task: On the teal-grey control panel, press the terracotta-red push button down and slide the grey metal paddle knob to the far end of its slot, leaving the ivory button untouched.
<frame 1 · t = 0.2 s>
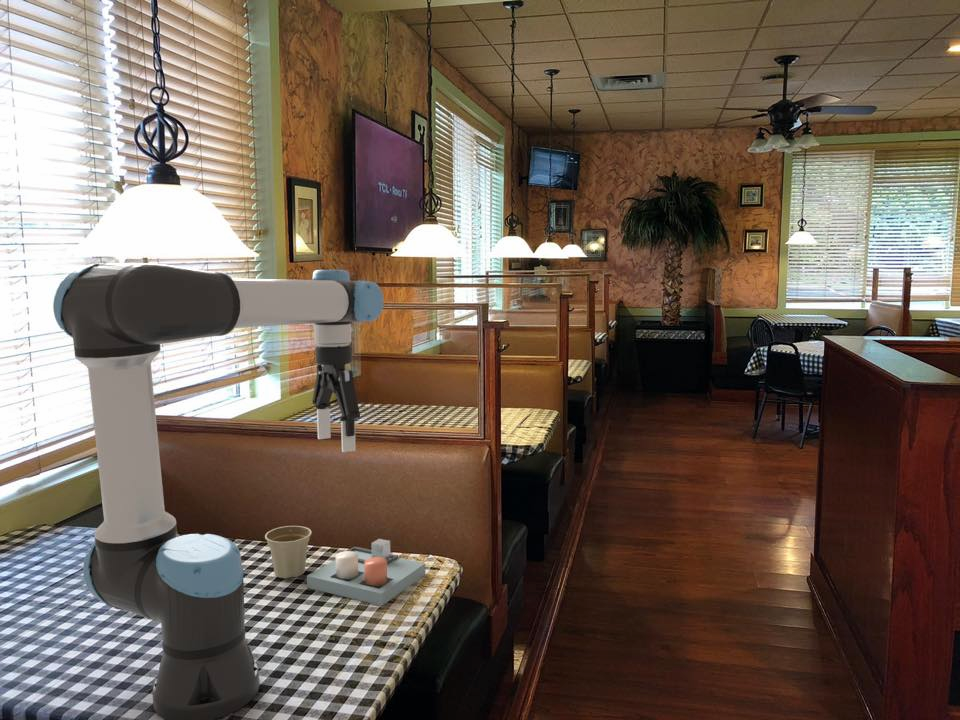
hand: (336, 444, 157), 27 cm above the table, fingers open, 13 cm apart
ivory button: (347, 564, 149), point 5 cm above the table, slide at 0.0 cm
red button: (375, 571, 146), point 5 cm above the table, slide at 0.0 cm
panel: (367, 581, 152), on the table
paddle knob: (380, 551, 156), point 5 cm above the table, slide at 0.0 cm
flower pot: (289, 573, 157), on the table
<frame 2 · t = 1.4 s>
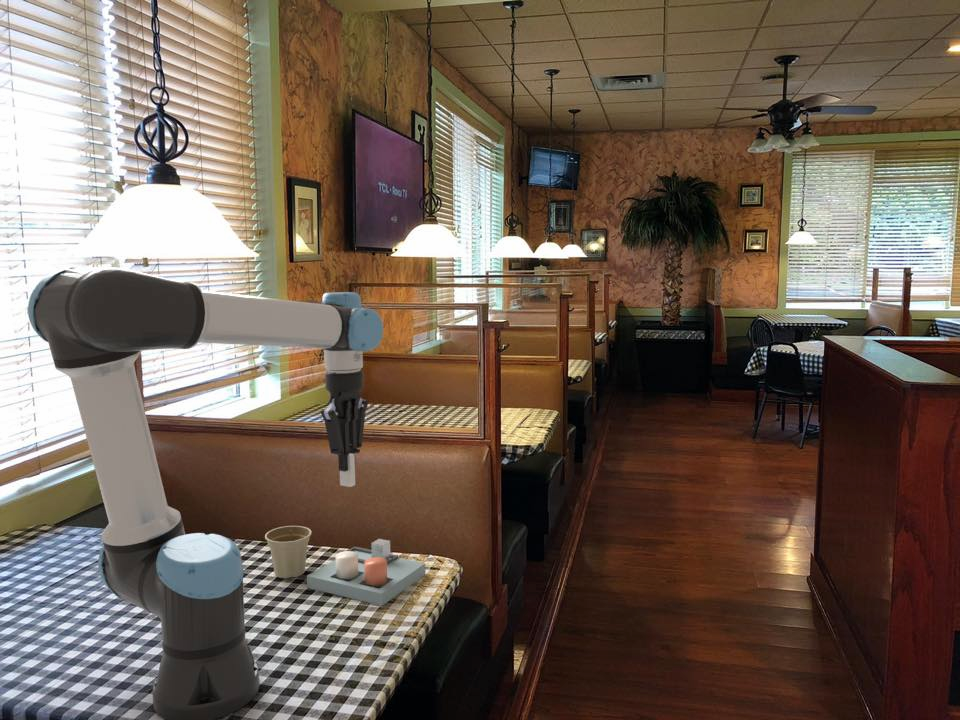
hand: (347, 485, 151), 20 cm above the table, fingers closed
nothing on the table moved.
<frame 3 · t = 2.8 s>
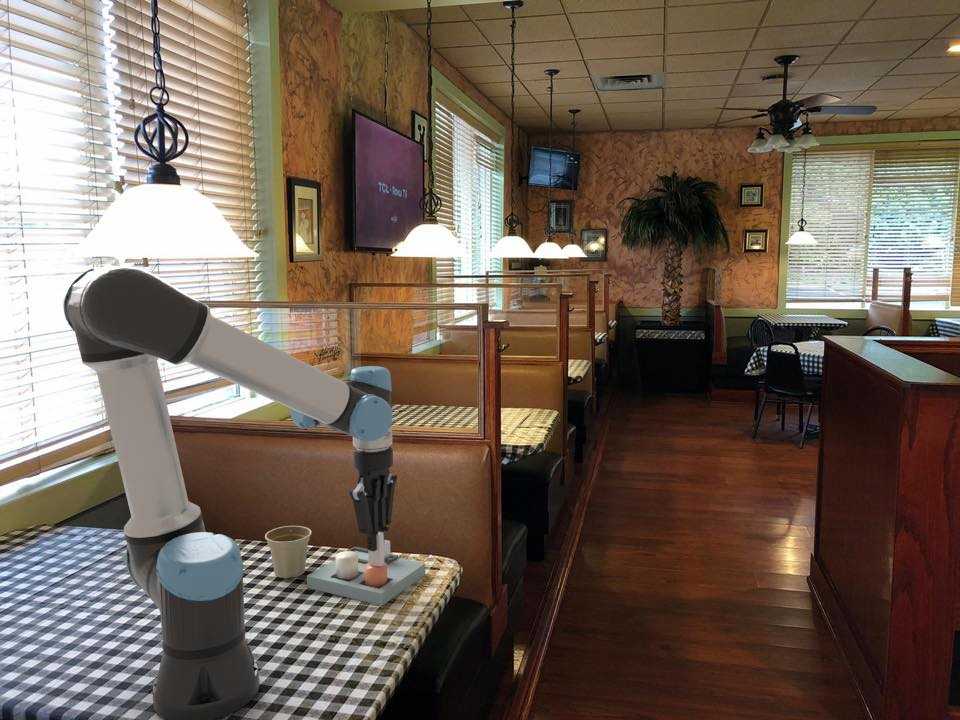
hand: (376, 564, 146), 6 cm above the table, fingers closed
red button: (376, 575, 146), point 4 cm above the table, slide at 0.9 cm, touching gripper
everything else where it was.
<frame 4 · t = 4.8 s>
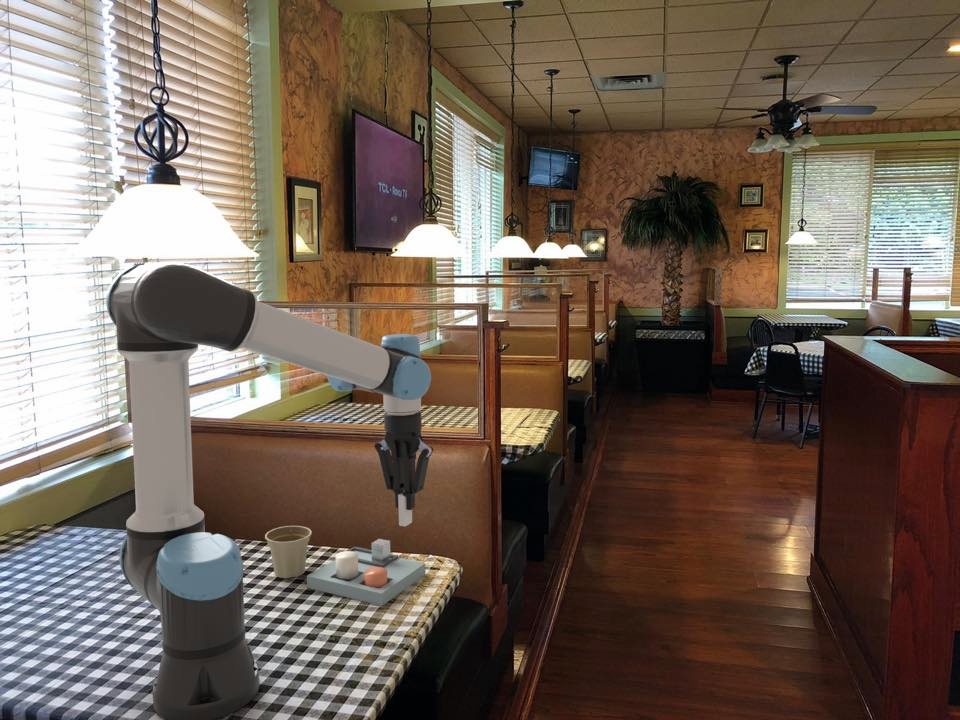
hand: (405, 523, 153), 11 cm above the table, fingers closed
red button: (376, 581, 146), point 3 cm above the table, slide at 2.1 cm
everything else where it was.
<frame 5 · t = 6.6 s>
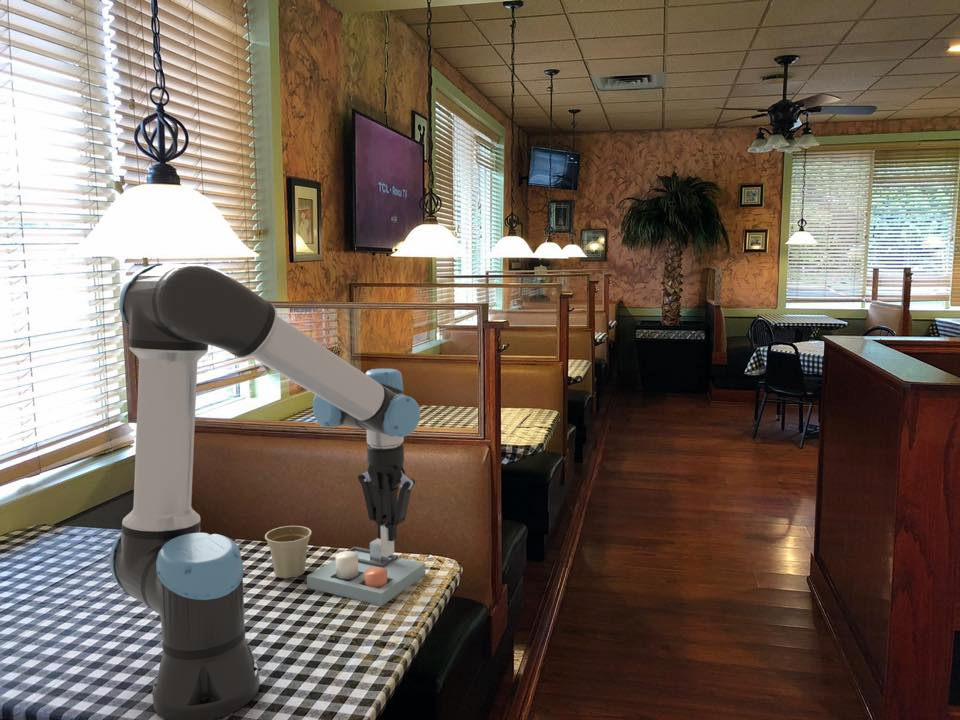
hand: (387, 554, 156), 4 cm above the table, fingers closed
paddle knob: (379, 550, 156), point 5 cm above the table, slide at 0.4 cm, touching gripper
everything else where it was.
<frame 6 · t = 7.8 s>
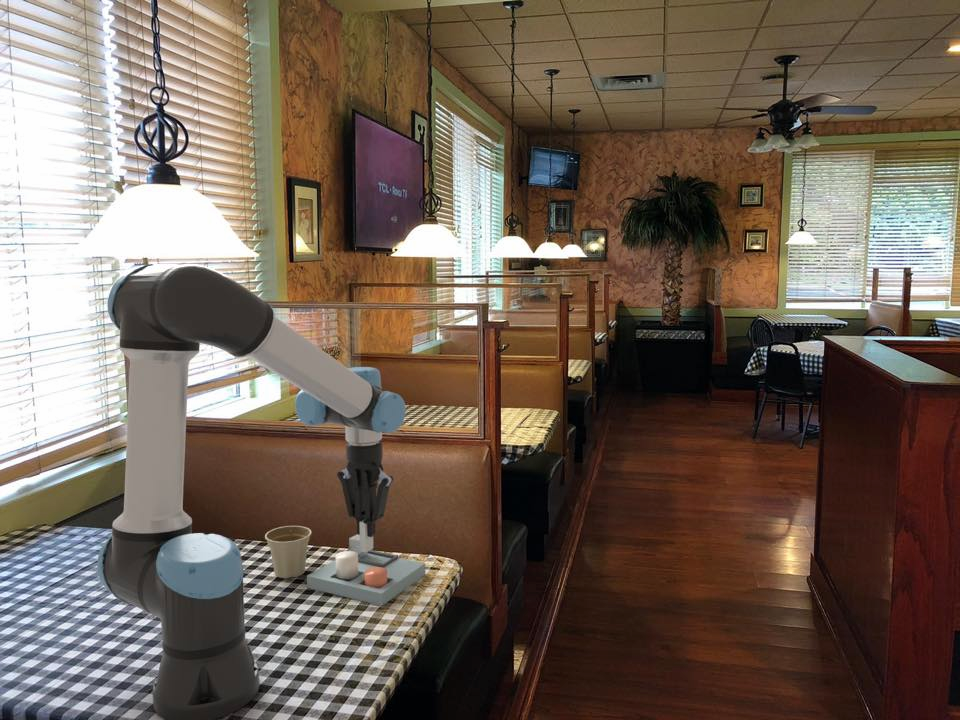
hand: (366, 549, 158), 4 cm above the table, fingers closed
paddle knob: (358, 546, 159), point 5 cm above the table, slide at 5.8 cm, touching gripper
everything else where it was.
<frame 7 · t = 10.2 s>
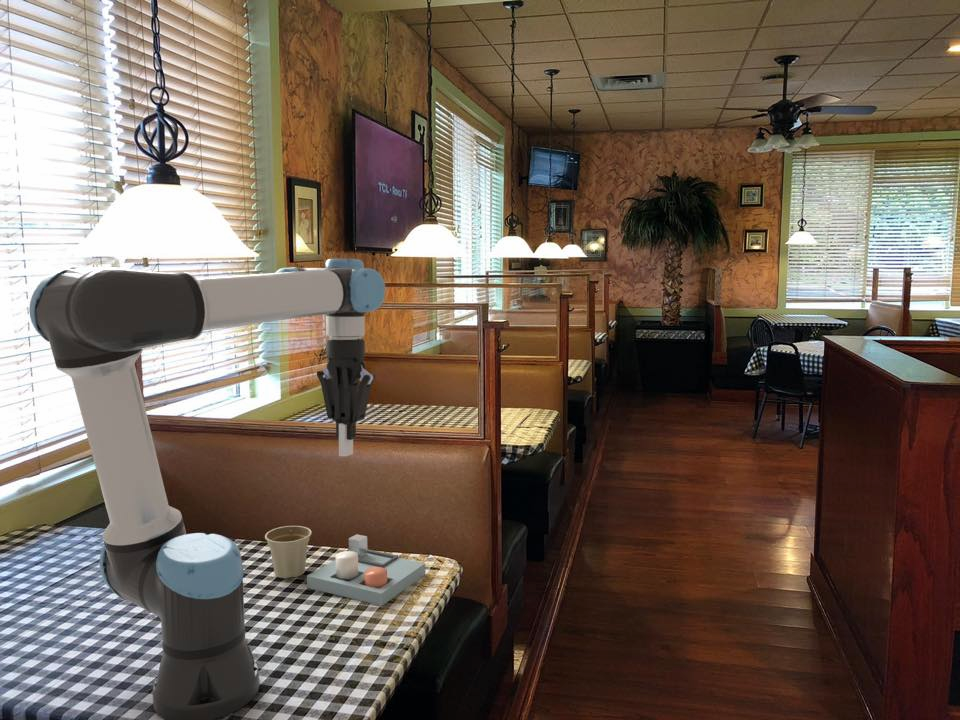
hand: (346, 454, 149), 26 cm above the table, fingers closed
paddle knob: (358, 546, 159), point 5 cm above the table, slide at 5.9 cm
everything else where it was.
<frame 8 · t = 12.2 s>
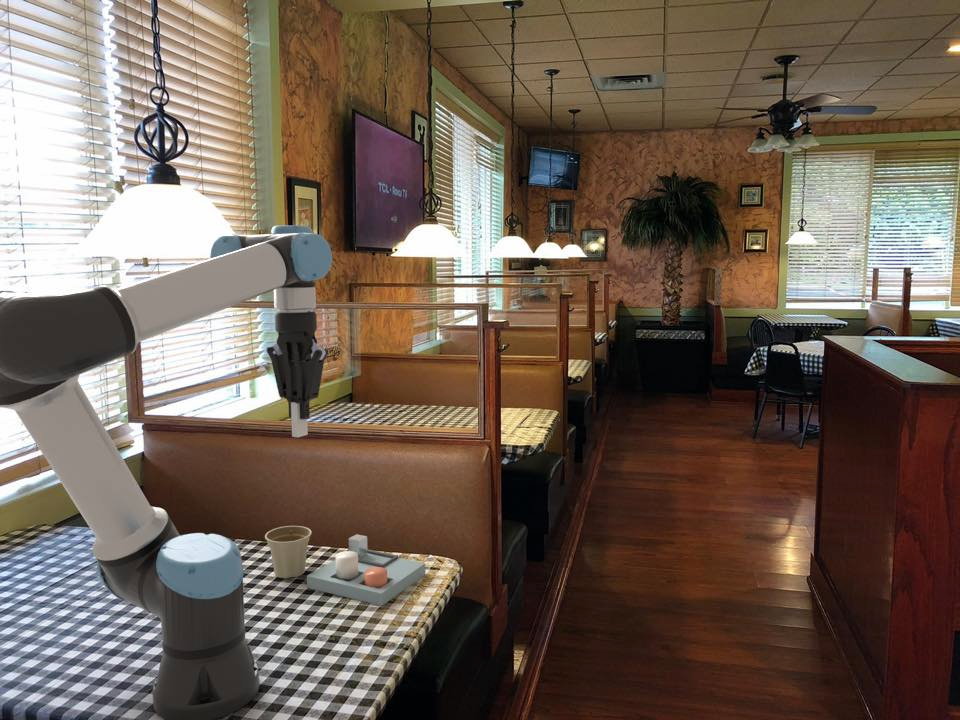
hand: (300, 435, 140), 32 cm above the table, fingers closed
nothing on the table moved.
at the end: red button slide at 2.1 cm; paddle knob slide at 5.9 cm; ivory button slide at 0.0 cm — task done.
